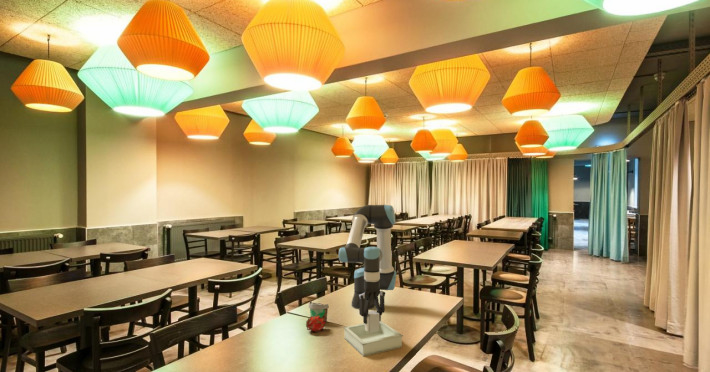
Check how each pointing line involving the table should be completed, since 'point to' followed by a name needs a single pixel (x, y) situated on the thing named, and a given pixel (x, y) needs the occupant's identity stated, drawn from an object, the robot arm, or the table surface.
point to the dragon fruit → (315, 323)
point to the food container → (318, 310)
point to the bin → (373, 339)
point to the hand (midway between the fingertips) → (372, 329)
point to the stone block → (373, 321)
